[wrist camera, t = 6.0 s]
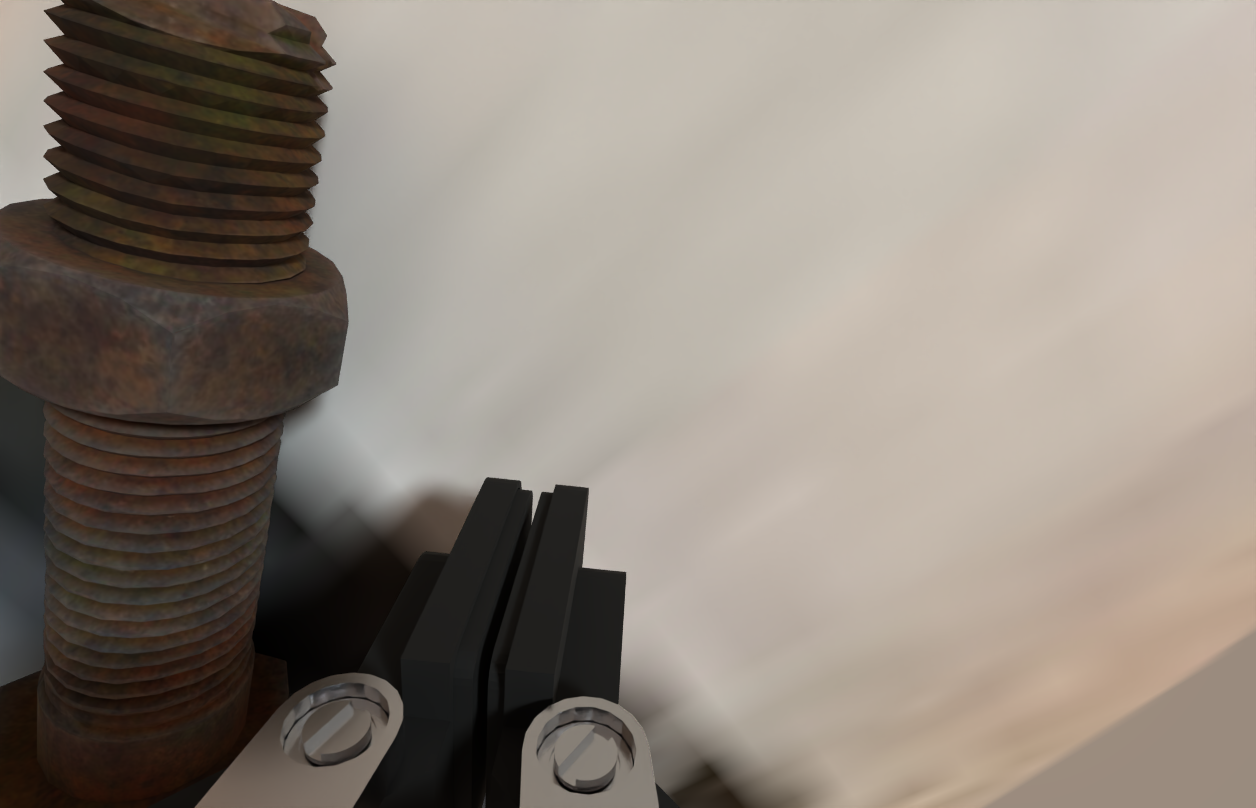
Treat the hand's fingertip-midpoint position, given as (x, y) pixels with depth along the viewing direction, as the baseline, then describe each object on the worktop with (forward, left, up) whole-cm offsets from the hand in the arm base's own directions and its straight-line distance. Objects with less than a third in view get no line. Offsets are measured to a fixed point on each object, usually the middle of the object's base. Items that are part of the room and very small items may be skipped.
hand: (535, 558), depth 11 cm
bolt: (0, -6, -3) cm, 7 cm away
